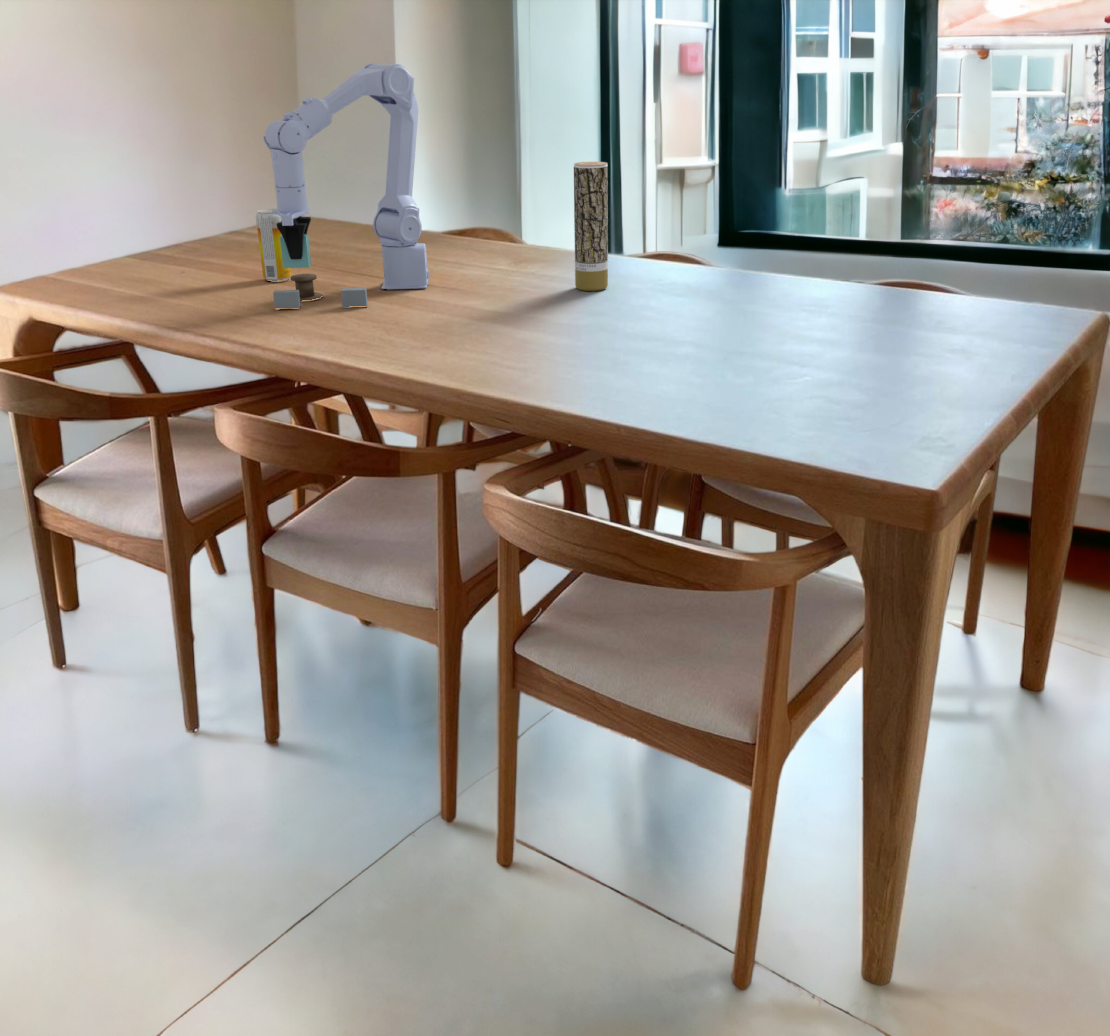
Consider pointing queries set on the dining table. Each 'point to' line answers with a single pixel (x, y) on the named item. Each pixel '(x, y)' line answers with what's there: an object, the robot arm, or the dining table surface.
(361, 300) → the grey bricks
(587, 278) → the paper tube
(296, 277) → the bobbin
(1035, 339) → the dining table surface
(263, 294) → the dining table surface
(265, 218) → the beer can
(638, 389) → the dining table surface
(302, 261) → the block
